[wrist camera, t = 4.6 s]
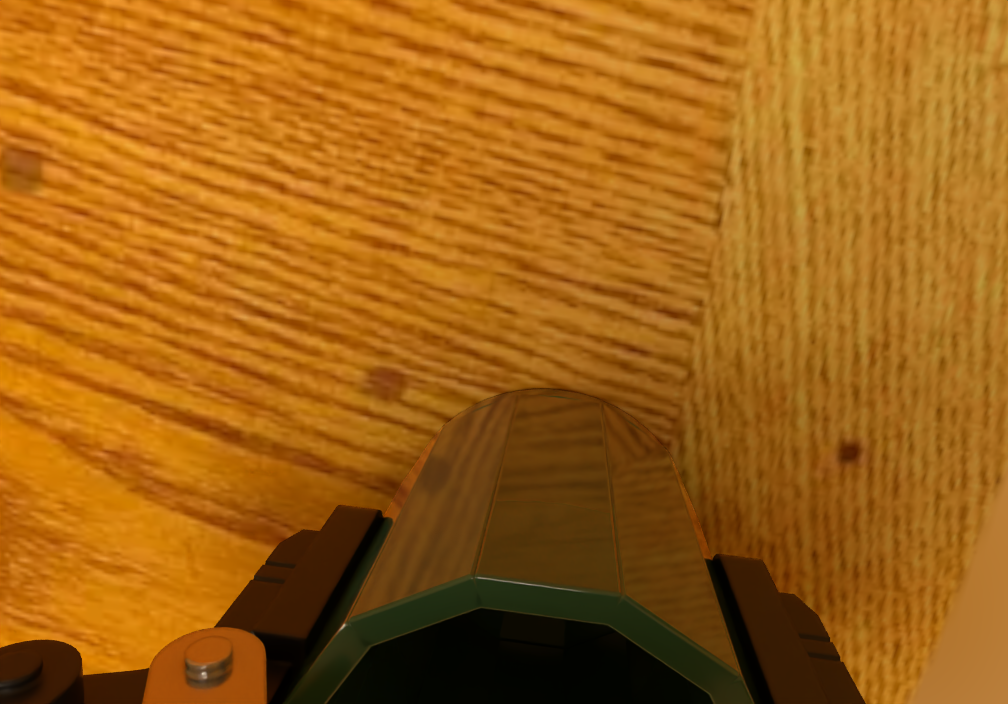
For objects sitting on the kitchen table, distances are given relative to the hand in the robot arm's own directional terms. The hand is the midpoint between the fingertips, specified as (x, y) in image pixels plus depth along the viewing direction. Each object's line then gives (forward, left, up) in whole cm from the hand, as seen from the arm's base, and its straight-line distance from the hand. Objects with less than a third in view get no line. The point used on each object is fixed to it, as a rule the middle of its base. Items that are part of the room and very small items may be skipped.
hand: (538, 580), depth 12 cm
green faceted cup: (0, 0, -2) cm, 2 cm away
